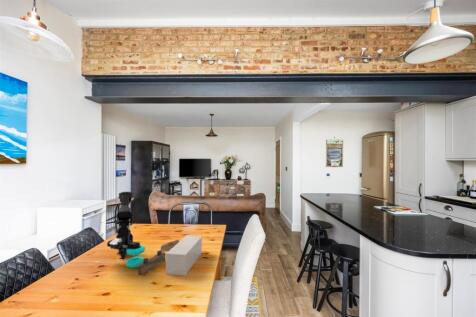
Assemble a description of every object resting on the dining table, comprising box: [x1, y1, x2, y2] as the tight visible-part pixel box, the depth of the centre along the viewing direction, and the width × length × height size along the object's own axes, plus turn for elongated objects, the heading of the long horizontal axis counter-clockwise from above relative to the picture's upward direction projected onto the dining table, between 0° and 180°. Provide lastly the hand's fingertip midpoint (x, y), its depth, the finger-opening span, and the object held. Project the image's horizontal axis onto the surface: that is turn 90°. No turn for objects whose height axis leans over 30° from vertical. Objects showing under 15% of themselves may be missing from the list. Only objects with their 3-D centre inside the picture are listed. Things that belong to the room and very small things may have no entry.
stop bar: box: [137, 249, 166, 276], centre depth 136 cm, size 3×20×7 cm, turn 163°
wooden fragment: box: [160, 239, 181, 253], centre depth 172 cm, size 26×11×1 cm, turn 166°
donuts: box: [125, 244, 146, 269], centre depth 139 cm, size 10×10×10 cm
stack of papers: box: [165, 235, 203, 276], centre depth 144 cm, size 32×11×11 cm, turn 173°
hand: (123, 259), depth 141 cm, fingers closed
